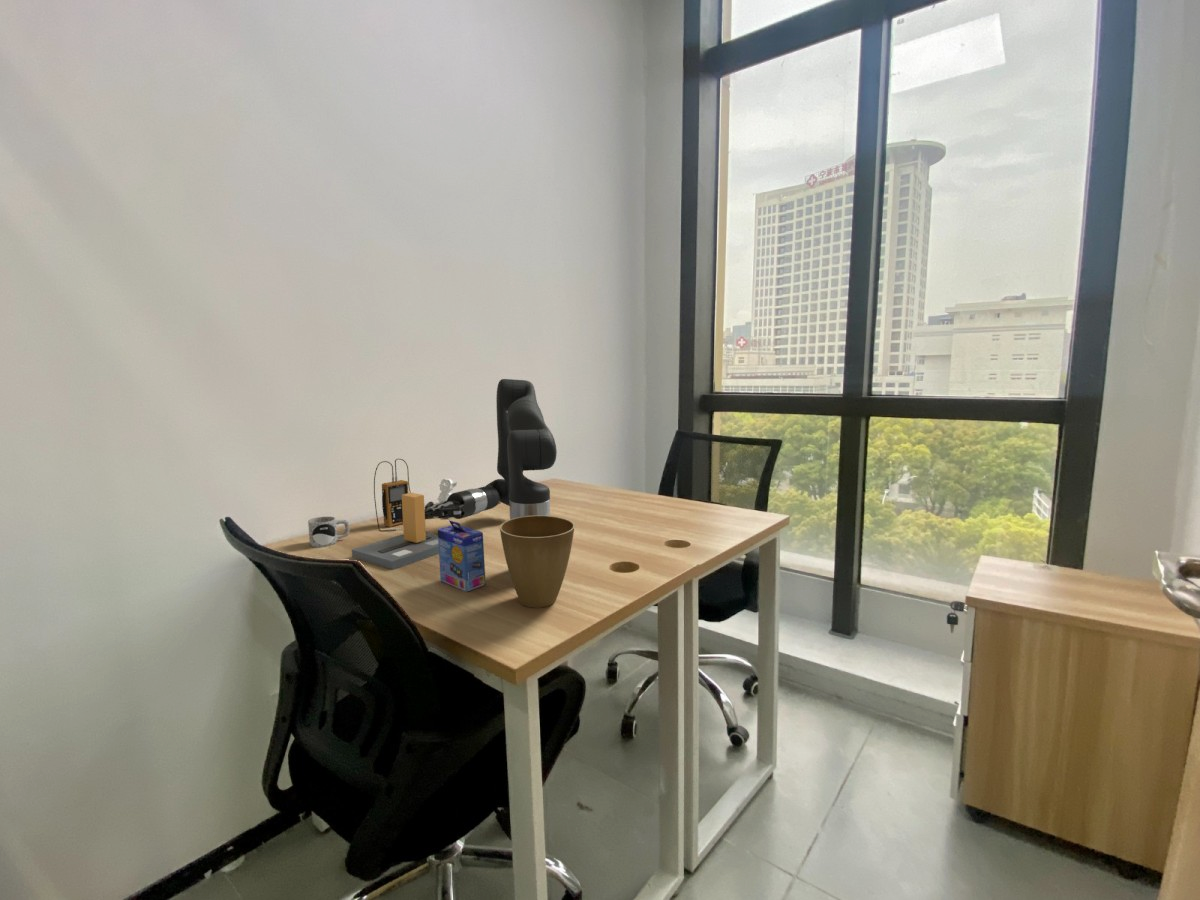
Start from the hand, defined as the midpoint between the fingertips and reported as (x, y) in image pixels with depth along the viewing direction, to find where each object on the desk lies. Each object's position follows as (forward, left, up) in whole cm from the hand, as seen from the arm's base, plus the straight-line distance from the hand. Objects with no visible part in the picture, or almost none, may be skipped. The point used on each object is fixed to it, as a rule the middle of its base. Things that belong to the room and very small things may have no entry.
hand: (418, 516), depth 147 cm
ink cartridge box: (-28, +11, -9) cm, 31 cm away
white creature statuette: (+20, -27, -9) cm, 34 cm away
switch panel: (0, +4, -9) cm, 10 cm away
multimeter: (+20, -11, -9) cm, 24 cm away
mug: (+24, +10, -9) cm, 28 cm away
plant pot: (-48, +9, -9) cm, 50 cm away
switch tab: (0, +2, -6) cm, 6 cm away
